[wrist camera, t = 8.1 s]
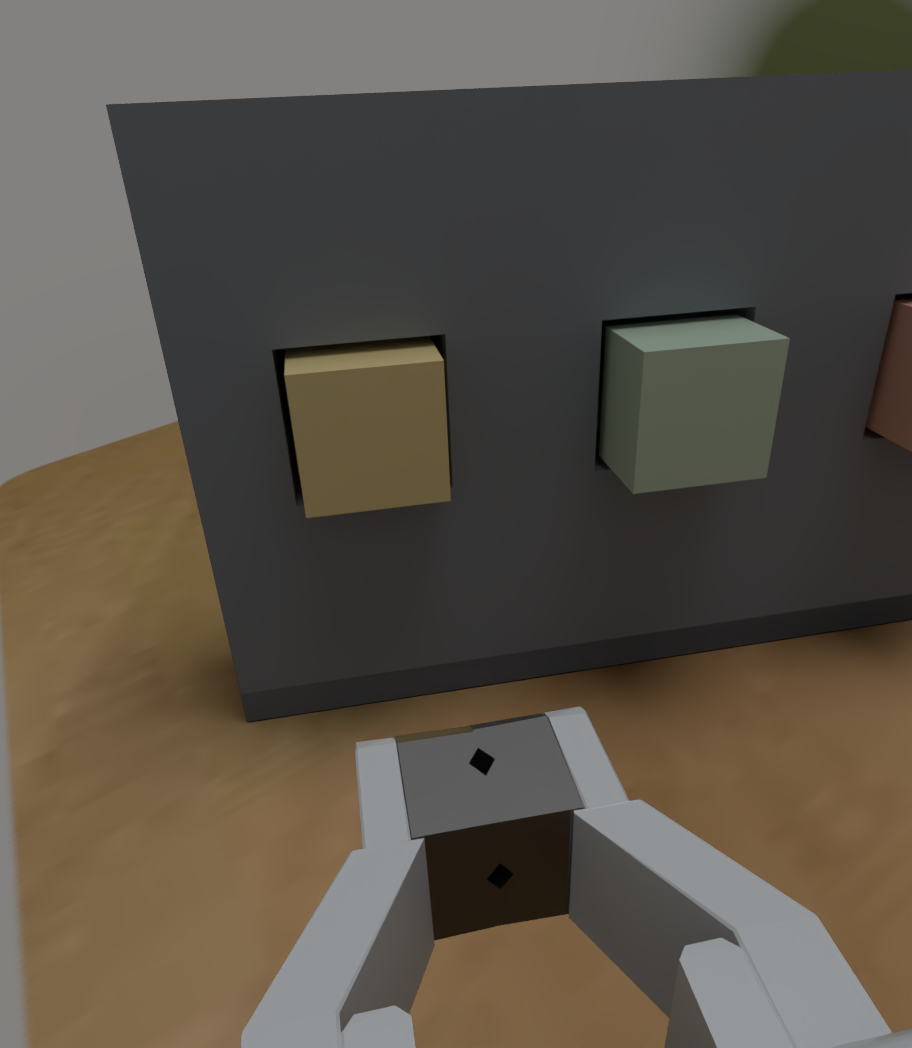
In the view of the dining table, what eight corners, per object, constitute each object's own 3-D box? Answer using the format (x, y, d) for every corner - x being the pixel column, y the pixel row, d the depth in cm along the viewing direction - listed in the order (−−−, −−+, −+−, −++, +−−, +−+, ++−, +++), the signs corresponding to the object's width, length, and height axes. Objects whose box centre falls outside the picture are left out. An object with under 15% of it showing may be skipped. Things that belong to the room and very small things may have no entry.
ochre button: (450, 500, 21) (443, 360, 19) (306, 518, 21) (284, 375, 19) (435, 461, 24) (427, 333, 22) (305, 475, 23) (286, 345, 21)
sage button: (766, 477, 22) (790, 338, 20) (633, 494, 21) (644, 352, 19) (719, 441, 24) (736, 314, 22) (598, 455, 24) (605, 326, 22)
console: (992, 606, 29) (1188, 57, 21) (247, 722, 25) (106, 104, 17) (887, 532, 34) (1008, 69, 26) (256, 618, 31) (151, 107, 22)
